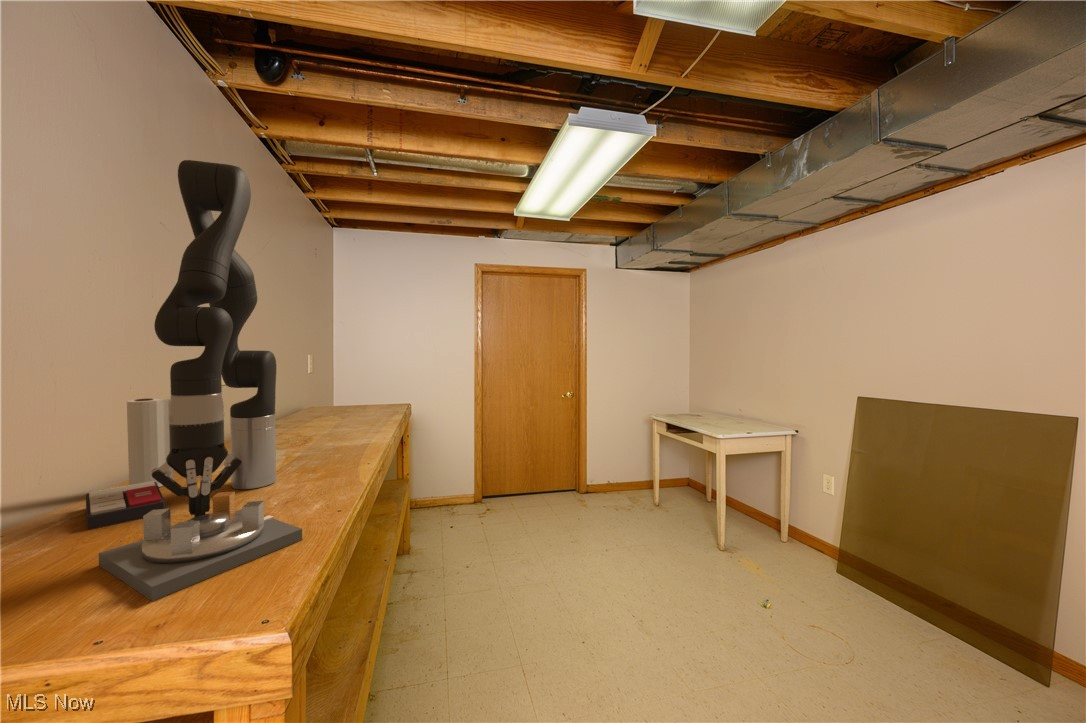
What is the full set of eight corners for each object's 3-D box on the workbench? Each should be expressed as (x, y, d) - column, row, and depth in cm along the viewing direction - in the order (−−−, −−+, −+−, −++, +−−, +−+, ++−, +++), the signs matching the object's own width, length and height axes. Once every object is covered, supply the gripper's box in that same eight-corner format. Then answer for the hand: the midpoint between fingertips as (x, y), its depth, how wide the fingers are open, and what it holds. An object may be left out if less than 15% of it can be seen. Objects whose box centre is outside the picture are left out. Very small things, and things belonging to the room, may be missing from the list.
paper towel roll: (121, 490, 100) (119, 400, 99) (149, 482, 106) (146, 397, 105) (148, 492, 99) (145, 401, 98) (174, 484, 105) (171, 398, 104)
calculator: (86, 513, 79) (85, 489, 89) (87, 535, 80) (86, 509, 90) (165, 497, 87) (156, 478, 97) (165, 518, 88) (156, 496, 98)
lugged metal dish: (123, 546, 68) (122, 515, 68) (234, 512, 82) (234, 486, 82) (169, 573, 61) (168, 537, 61) (283, 530, 75) (282, 501, 75)
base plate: (98, 565, 67) (98, 550, 67) (244, 518, 85) (244, 506, 85) (152, 601, 58) (151, 584, 58) (302, 539, 76) (302, 526, 76)
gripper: (238, 412, 83) (240, 500, 83) (145, 420, 73) (148, 519, 74) (246, 417, 77) (248, 511, 78) (147, 427, 68) (150, 533, 69)
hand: (199, 515), depth 76 cm, fingers closed
